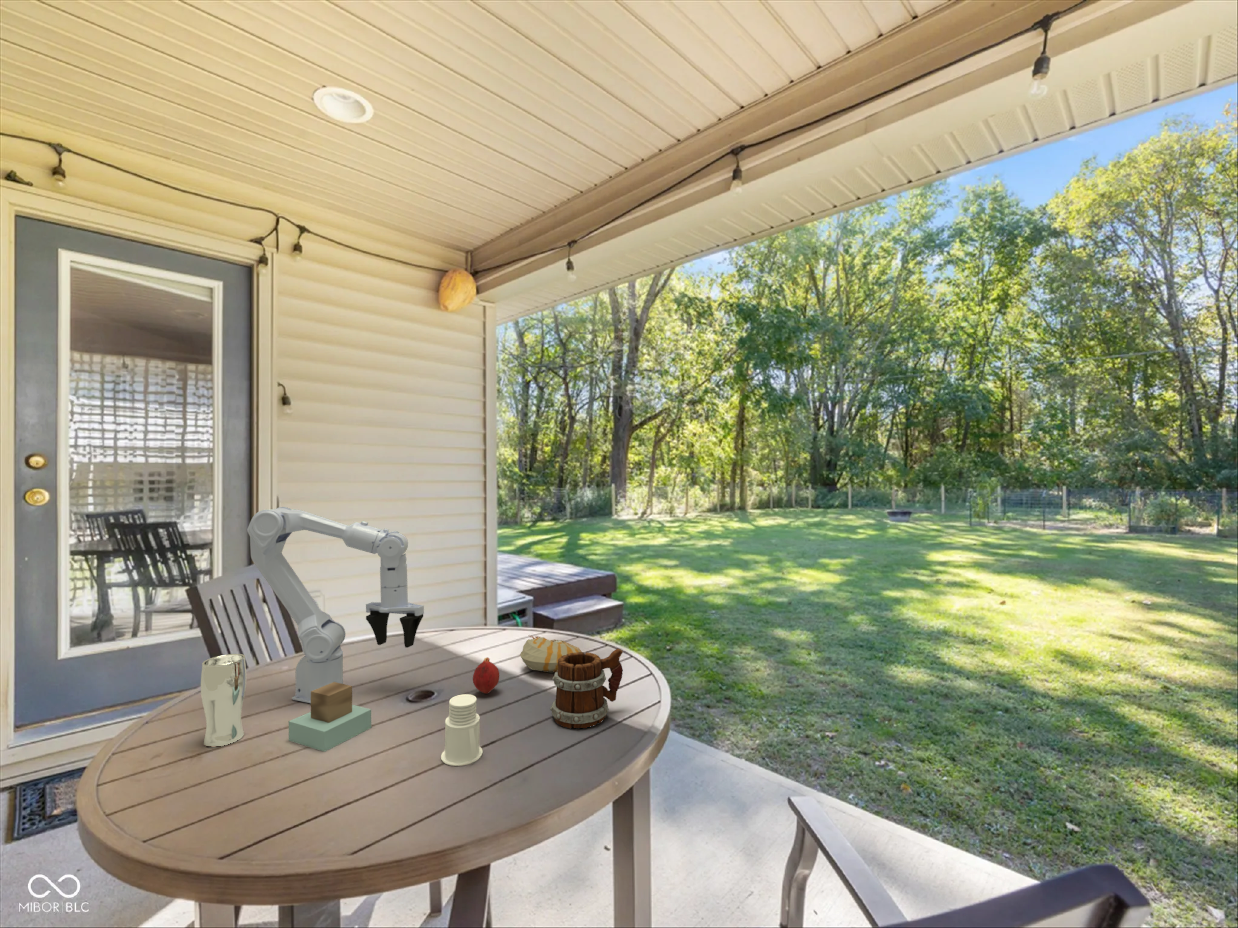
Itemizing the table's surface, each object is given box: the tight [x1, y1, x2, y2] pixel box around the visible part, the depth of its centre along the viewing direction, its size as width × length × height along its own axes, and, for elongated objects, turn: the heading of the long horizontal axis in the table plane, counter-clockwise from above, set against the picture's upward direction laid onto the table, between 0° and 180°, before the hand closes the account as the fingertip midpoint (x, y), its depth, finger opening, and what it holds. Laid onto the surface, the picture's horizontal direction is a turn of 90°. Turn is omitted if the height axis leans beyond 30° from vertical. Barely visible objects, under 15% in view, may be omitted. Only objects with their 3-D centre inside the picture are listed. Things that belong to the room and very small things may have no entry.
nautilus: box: [519, 635, 583, 674], centre depth 139 cm, size 8×22×15 cm
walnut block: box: [310, 682, 353, 723], centre depth 104 cm, size 5×5×5 cm
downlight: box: [440, 693, 483, 767], centre depth 96 cm, size 8×7×10 cm
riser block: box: [288, 704, 372, 753], centre depth 104 cm, size 10×10×4 cm
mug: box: [549, 648, 624, 729], centre depth 111 cm, size 12×14×15 cm
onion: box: [472, 657, 500, 695], centre depth 122 cm, size 6×6×8 cm
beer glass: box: [200, 653, 247, 747], centre depth 102 cm, size 7×7×15 cm
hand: (395, 644), depth 125 cm, fingers open, 7 cm apart
